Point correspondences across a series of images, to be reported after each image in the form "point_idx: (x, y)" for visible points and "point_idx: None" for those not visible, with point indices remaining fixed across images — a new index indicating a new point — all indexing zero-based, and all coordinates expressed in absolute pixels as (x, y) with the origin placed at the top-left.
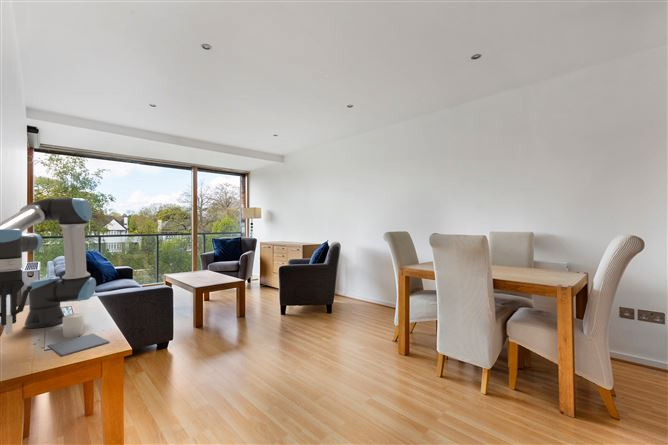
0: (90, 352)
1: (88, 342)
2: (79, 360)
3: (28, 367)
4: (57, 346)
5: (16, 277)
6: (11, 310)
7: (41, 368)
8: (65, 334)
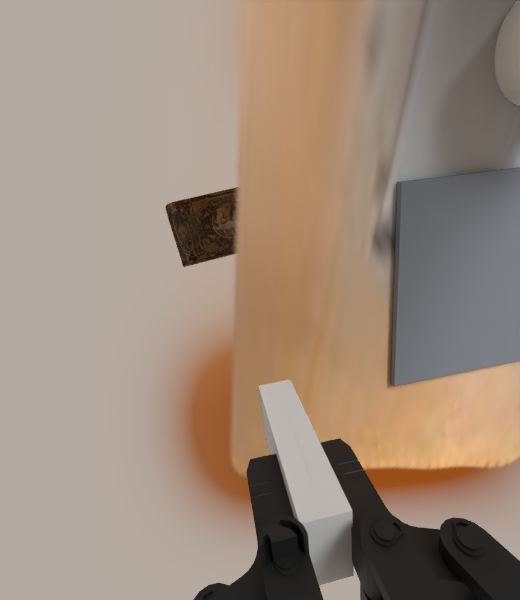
0: (456, 411)
1: (504, 304)
2: (409, 461)
3: None
4: (419, 253)
5: None
6: (391, 591)
7: None
8: (516, 71)
